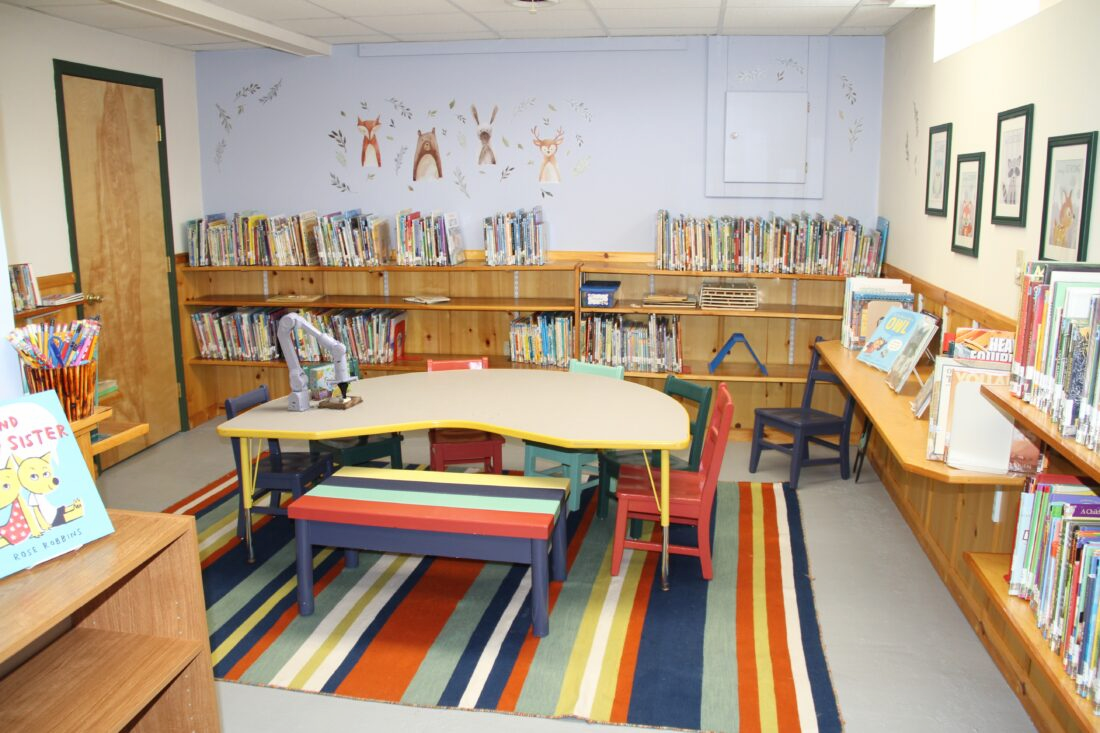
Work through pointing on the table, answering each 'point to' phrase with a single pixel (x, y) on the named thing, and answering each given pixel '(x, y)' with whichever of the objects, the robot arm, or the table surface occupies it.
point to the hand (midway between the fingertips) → (344, 398)
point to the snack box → (319, 382)
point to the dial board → (344, 406)
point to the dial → (340, 399)
